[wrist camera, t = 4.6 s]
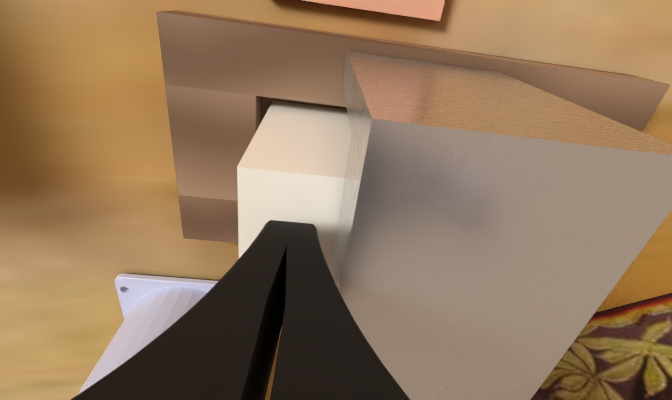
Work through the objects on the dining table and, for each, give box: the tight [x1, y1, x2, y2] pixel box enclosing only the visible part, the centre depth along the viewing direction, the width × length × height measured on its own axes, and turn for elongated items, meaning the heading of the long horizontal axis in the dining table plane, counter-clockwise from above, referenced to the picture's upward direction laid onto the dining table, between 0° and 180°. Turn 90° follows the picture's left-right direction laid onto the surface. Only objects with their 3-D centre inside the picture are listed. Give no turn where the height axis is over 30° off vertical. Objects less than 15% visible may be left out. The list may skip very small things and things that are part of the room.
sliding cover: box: [330, 51, 672, 400], centre depth 12 cm, size 9×6×8 cm, turn 173°
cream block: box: [237, 100, 351, 270], centre depth 13 cm, size 4×4×7 cm
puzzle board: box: [157, 10, 670, 243], centre depth 16 cm, size 10×20×2 cm, turn 83°
